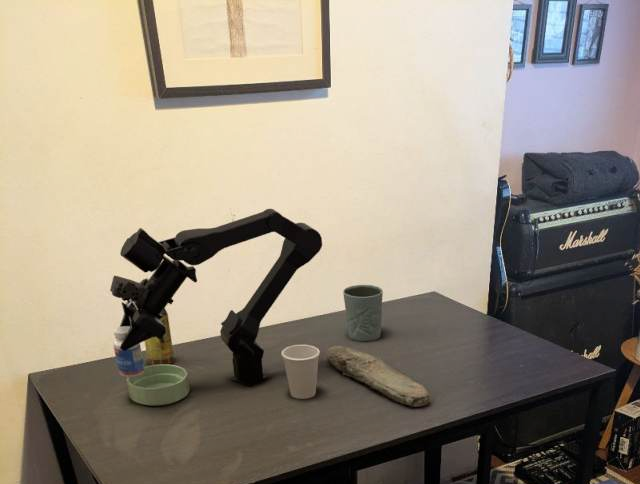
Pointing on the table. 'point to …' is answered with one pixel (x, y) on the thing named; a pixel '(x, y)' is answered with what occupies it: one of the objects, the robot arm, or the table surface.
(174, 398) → the bowl
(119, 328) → the pill bottle
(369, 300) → the green ceramic cup
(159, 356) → the sauce bottle
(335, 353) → the long grey stone
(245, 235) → the robot arm
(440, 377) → the table surface
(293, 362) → the dixie cup
